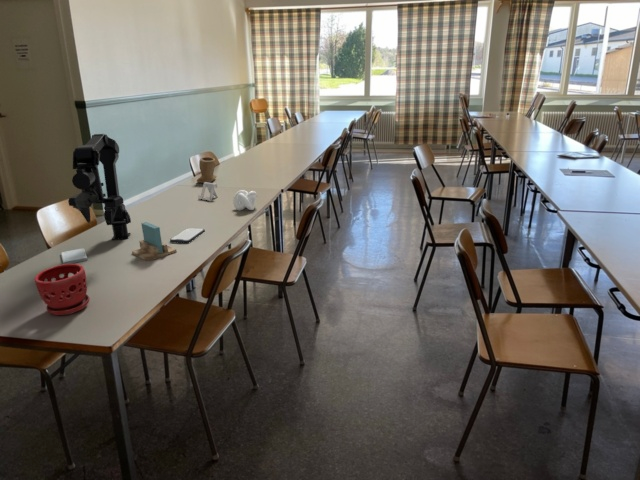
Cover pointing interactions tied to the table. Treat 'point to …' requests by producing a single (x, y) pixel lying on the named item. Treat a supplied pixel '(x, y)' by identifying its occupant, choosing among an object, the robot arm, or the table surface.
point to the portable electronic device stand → (211, 191)
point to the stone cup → (206, 169)
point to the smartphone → (187, 235)
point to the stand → (152, 251)
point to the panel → (152, 235)
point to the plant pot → (63, 289)
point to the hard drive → (74, 256)
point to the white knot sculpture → (244, 199)
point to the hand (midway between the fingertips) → (100, 222)
